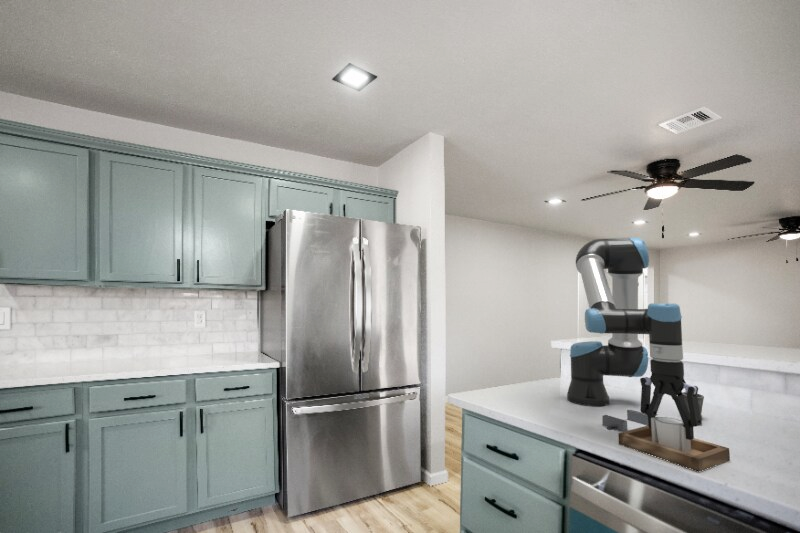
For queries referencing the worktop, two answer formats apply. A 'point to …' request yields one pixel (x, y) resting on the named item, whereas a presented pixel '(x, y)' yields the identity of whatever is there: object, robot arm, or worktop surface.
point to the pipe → (700, 401)
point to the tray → (695, 459)
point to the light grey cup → (669, 432)
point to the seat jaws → (622, 424)
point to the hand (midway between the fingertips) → (670, 446)
